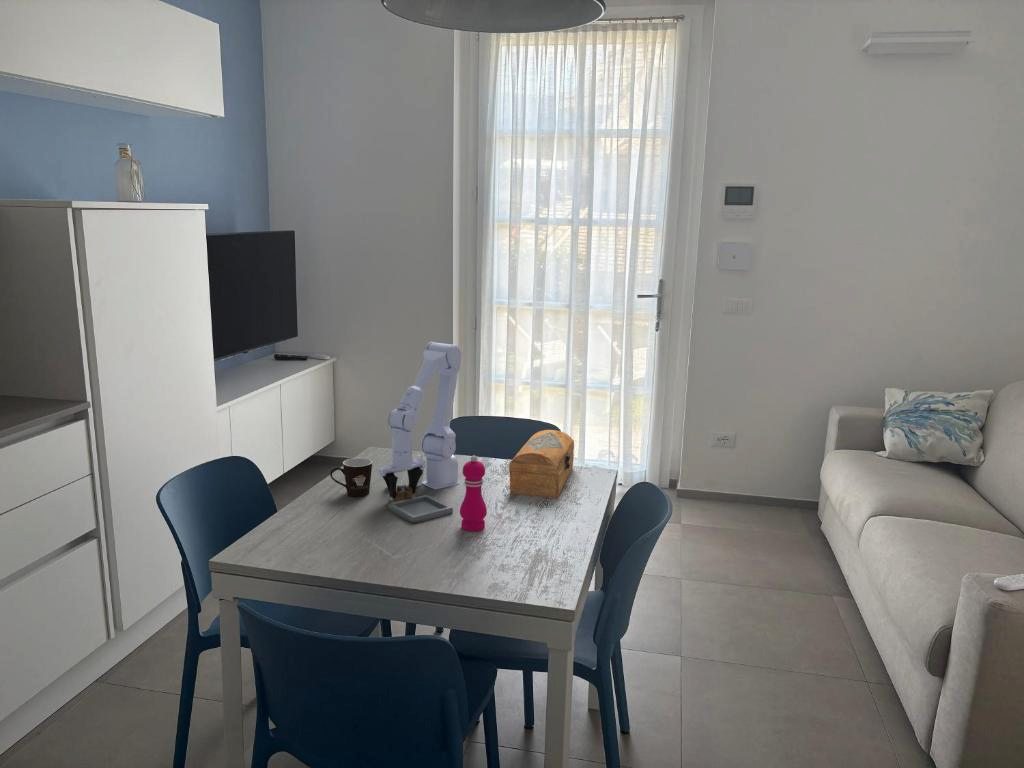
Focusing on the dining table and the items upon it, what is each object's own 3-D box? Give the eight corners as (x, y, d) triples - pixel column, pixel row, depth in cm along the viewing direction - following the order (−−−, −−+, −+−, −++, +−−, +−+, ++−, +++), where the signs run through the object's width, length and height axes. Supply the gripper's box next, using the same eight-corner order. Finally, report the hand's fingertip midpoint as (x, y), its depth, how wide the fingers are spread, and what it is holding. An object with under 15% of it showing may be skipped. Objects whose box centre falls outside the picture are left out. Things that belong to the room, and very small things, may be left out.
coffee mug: (376, 490, 239) (375, 458, 237) (368, 500, 230) (367, 467, 228) (338, 488, 240) (338, 456, 238) (329, 497, 231) (328, 465, 229)
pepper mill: (490, 524, 214) (491, 453, 210) (480, 534, 207) (481, 460, 203) (465, 520, 216) (466, 450, 212) (455, 530, 209) (456, 457, 206)
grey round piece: (406, 493, 236) (406, 479, 236) (421, 501, 230) (421, 486, 230) (383, 499, 231) (383, 484, 231) (398, 506, 225) (397, 491, 224)
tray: (426, 500, 231) (426, 494, 231) (452, 513, 221) (452, 507, 221) (388, 509, 223) (388, 503, 222) (413, 523, 213) (413, 517, 213)
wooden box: (560, 500, 234) (562, 455, 231) (506, 495, 238) (507, 450, 235) (577, 471, 263) (579, 430, 260) (529, 466, 267) (530, 426, 264)
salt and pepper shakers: (388, 491, 238) (387, 456, 236) (384, 487, 242) (383, 452, 240) (425, 486, 243) (425, 451, 241) (421, 482, 247) (421, 448, 245)
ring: (403, 493, 235) (403, 483, 235) (417, 500, 230) (417, 490, 229) (387, 497, 232) (387, 487, 231) (401, 504, 226) (401, 494, 226)
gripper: (415, 443, 235) (415, 486, 238) (373, 451, 226) (373, 496, 229) (429, 448, 230) (429, 492, 233) (385, 456, 221) (386, 502, 224)
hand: (402, 494), depth 231 cm, fingers open, 6 cm apart
